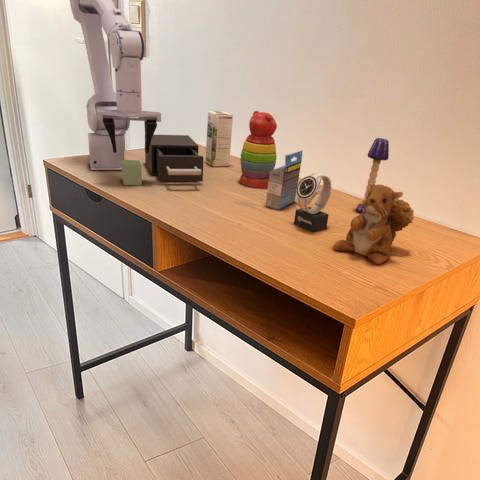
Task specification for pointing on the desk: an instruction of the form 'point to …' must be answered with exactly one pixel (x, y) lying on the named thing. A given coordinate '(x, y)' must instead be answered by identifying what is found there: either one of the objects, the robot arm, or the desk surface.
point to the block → (131, 172)
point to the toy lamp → (375, 163)
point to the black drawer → (178, 164)
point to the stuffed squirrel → (377, 224)
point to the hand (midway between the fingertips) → (131, 152)
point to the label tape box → (284, 182)
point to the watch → (306, 192)
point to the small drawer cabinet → (167, 142)
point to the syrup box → (218, 138)
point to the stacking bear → (259, 151)
